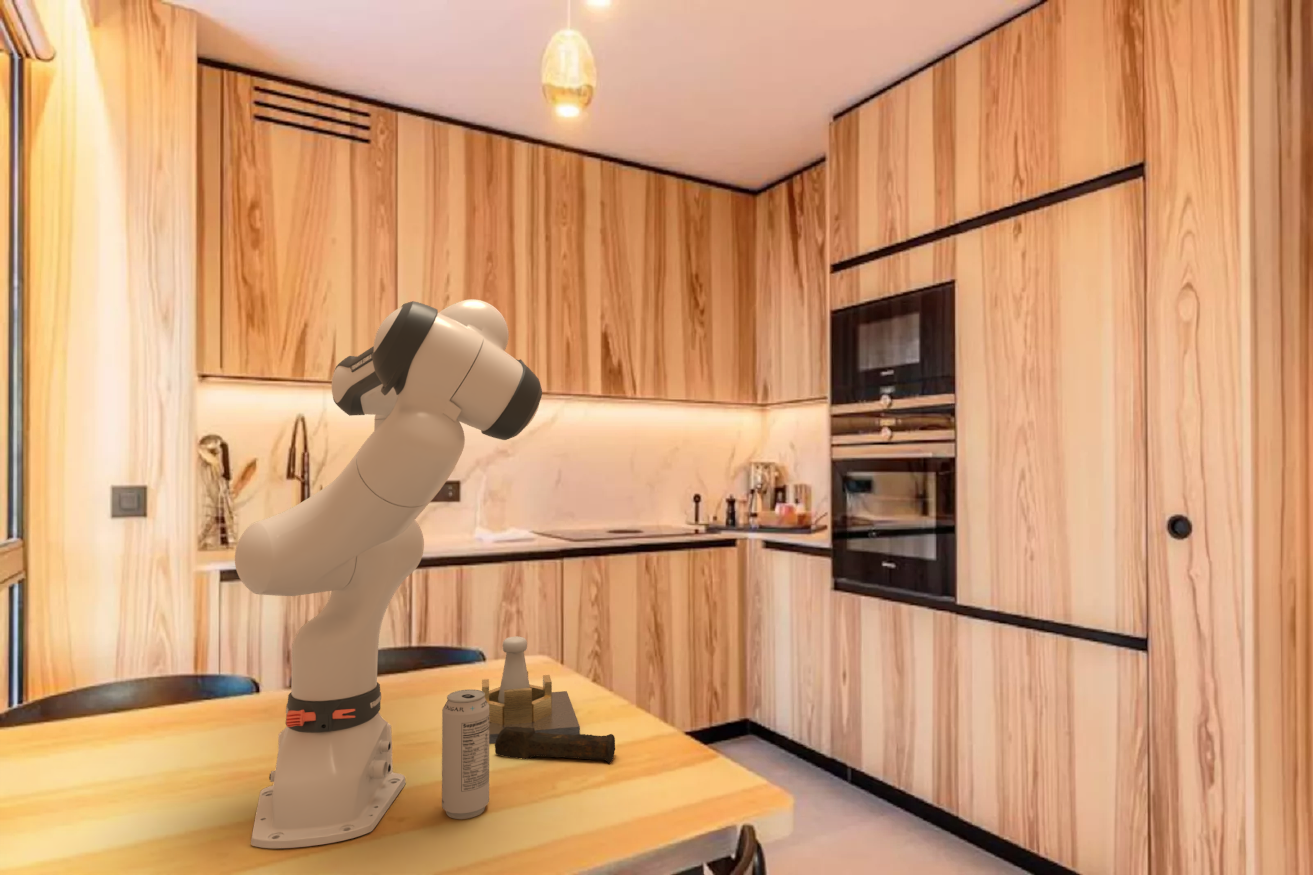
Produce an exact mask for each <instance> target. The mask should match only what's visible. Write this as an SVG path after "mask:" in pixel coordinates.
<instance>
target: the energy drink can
mask: <svg viewBox="0 0 1313 875" xmlns="http://www.w3.org/2000/svg"><path fill="white" fill-rule="evenodd" d="M484 696H485V693H484V692H483V691H482V690H480V689H461V690H457V691H456V690H455V691H453V692H450V693H449V694H448V695H447V696H446V701H445V704H444V706H443V707H442V712H441V714H442V718H441V722H442V723H441V725H442V726H441V727H442V728H441V729H442V731H441V733H442V734H441V735H442V736H441V743H442V744H441V746H442V747H441V752H442V753H441V757H442V758H441V807H442V810H444V811H445V813H446V815H447V816H448V817H449V818H452V819H455V820H465V819H466V820H467V819H472V818H474V817H477V816H480V815H481V814H483V813H484V811H485V809H486V806H487V805H488V804H489V802H490V744H489V704H488V703H487V701H486V699H485V697H484Z"/></svg>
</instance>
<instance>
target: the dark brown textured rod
mask: <svg viewBox="0 0 1313 875" xmlns="http://www.w3.org/2000/svg"><path fill="white" fill-rule="evenodd" d="M494 750H495V754H496V755H498V756H501V757H505V758H512V759H519V758H522V759H521V760H529V759H531V758H533V757H545V758H546V757H548V758H549V757H550V758H568V759H583V760H591V761H592V760H593V761H596V760H597V761H598V760H601V761H602V760H603V761H606V762H607V764H608V765H609V764H611V763H612V762H613V760H614V756H615V753H616V752H615V751H616V737H615V735H614V734H613V733H610V734H607V735H597V734H595V735H593V734H586V733H585V734H584V733H582V734H581V733H580V734H577V735H566V734H549V733H540V732H538V733H535V729H534V728H530V727H528V728H524V727H505V728H504V729H503V730H501V731H500V733H499V735H498V738H497V739H496V743H494Z"/></svg>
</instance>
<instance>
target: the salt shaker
mask: <svg viewBox="0 0 1313 875" xmlns="http://www.w3.org/2000/svg"><path fill="white" fill-rule="evenodd" d="M527 648H528V641H527V639H526V638H525V637H522V636H517V635H516V636H509V637H506V638H505V639H503V641H502V651H503V652H504V653H506V654H505V658H504V664H503V665H504V667H503V672H502V675H501V677H502V678H501V682H500V686H499V687H500V691H499V696H498V702H499V703H502V704H504V690H508V689H521V688H530V686H529V684H530V681H529V673H528V674H527V671H528V669H527V663H526V657H525V652H526V651H527Z"/></svg>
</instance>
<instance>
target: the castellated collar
mask: <svg viewBox="0 0 1313 875" xmlns="http://www.w3.org/2000/svg"><path fill="white" fill-rule="evenodd" d="M527 674H528V675H529V671H528V670H527ZM552 682H553V681H552V678H551V676H550V674H545V675H544V674H543V675H542V686H539V685H534V684H530V683H529V686H530V688H521V689H508V690H504V704H502V703H499V702H498V696H499V691H500V686H498V687H496V688H494V689H493V688H492V689H491V690H490V679H489V678H487V679H485V678H484V679H482V680H481V691H483V692H484V693H485V696H484V697H485V699H486V701H487V703H488V704H489V745H491V744H495V743H496V739H497V738H498V735H499V733H500V731H501V730H503V729H504V728H505V727H524V728H528V727H530V728H534V729H535V733H538V732H540V733H549V734H566V735H577V734H581V726H580V723H579V720H578V718H577V715H576V713H575V709H574V707H573V704H572V701H571V699H570V696H569V693H568V691H567V690H565V691H563V690H562V691H552V690H553V687H552V686H553V685H552V684H553V683H552Z"/></svg>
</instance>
